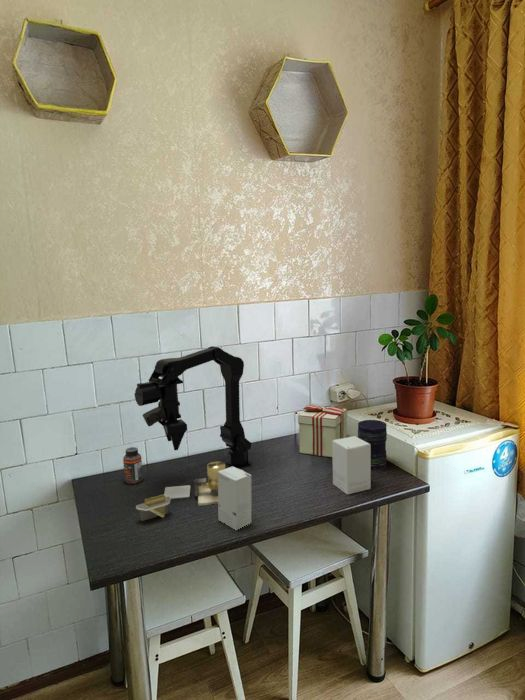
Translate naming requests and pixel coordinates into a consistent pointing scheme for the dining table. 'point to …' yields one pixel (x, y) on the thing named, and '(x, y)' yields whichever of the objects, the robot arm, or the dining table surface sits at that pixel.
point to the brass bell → (213, 475)
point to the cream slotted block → (205, 493)
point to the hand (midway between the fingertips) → (172, 445)
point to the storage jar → (374, 441)
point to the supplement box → (351, 464)
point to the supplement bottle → (132, 466)
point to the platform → (154, 507)
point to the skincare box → (234, 497)
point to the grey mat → (177, 492)
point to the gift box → (321, 429)
